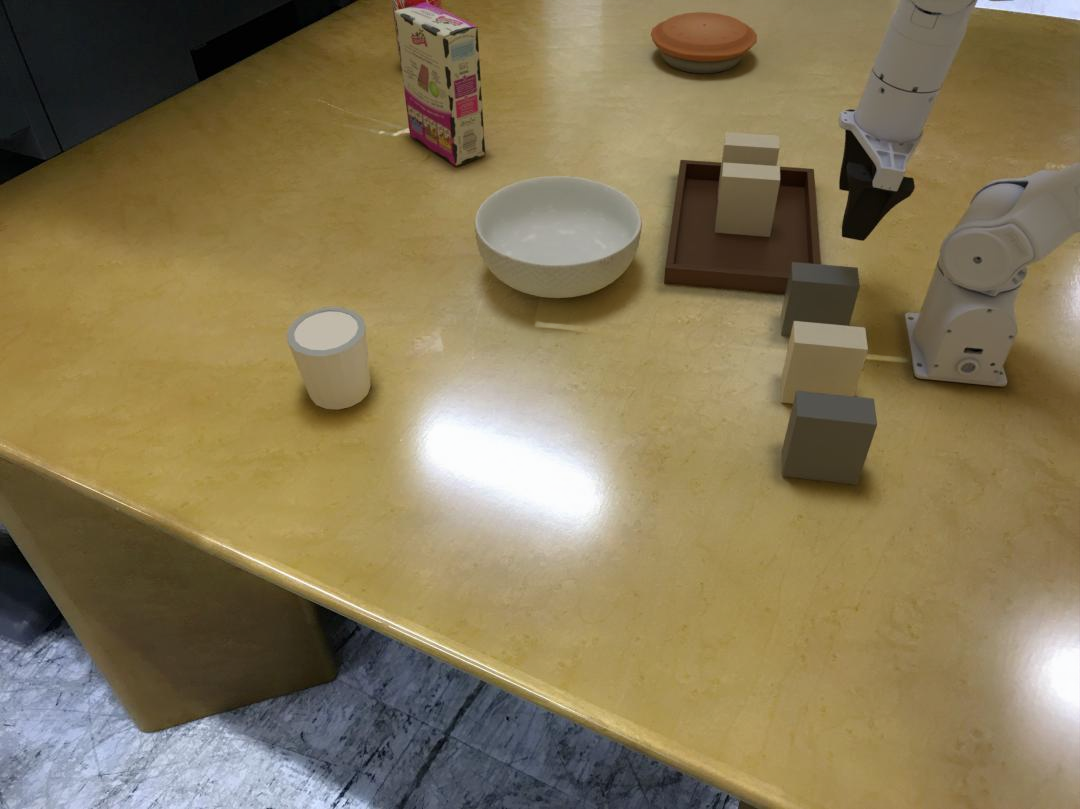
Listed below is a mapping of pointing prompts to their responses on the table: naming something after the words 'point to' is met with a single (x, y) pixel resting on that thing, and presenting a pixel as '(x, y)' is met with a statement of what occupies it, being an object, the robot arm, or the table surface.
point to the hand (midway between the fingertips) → (851, 212)
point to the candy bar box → (442, 81)
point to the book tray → (733, 256)
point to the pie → (703, 41)
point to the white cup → (331, 356)
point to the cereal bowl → (558, 235)
